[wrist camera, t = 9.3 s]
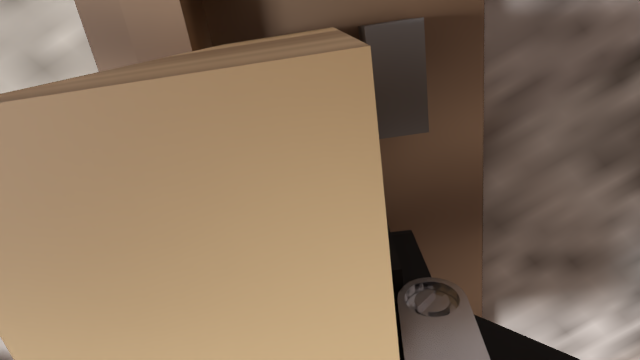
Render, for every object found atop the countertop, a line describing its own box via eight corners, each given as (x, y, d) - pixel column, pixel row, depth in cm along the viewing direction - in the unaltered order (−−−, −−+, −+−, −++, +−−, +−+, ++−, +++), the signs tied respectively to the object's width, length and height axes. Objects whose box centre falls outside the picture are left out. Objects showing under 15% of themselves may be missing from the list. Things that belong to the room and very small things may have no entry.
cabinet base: (80, -36, 12) (7, -53, 9) (472, -104, 11) (519, -145, 9) (219, 385, 19) (201, 449, 16) (473, 360, 18) (500, 421, 15)
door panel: (224, 44, 11) (-127, 121, 2) (370, 21, 10) (553, 17, 2) (297, 368, 15) (266, 792, 7) (400, 357, 15) (500, 783, 7)
